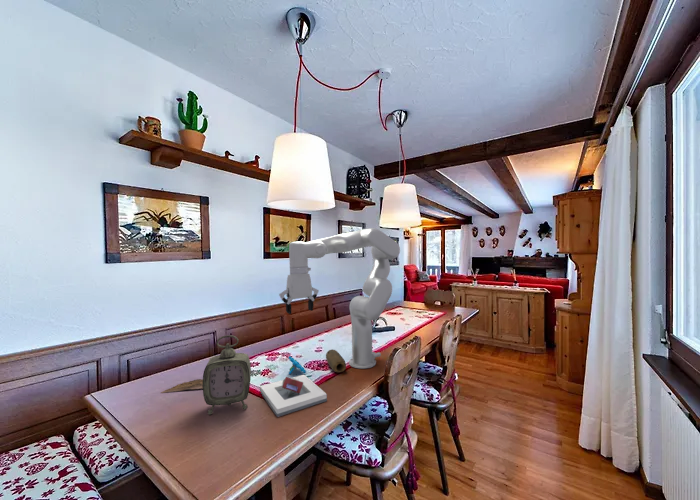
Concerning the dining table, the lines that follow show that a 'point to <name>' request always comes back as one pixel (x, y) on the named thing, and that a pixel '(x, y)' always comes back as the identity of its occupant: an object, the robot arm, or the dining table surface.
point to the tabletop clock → (227, 377)
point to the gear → (295, 365)
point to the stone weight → (335, 361)
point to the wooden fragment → (186, 386)
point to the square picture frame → (290, 404)
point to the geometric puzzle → (292, 385)
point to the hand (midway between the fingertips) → (300, 311)
